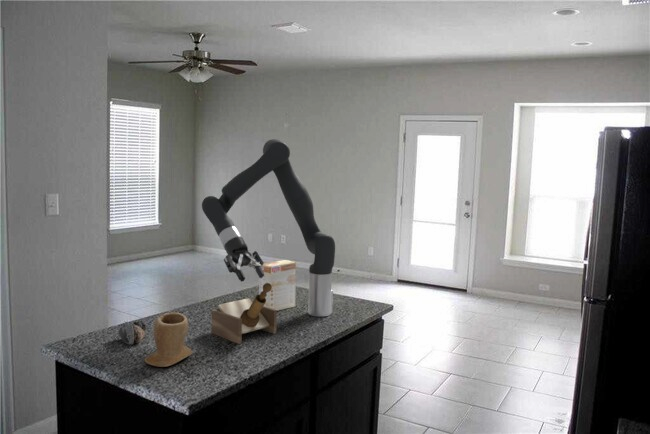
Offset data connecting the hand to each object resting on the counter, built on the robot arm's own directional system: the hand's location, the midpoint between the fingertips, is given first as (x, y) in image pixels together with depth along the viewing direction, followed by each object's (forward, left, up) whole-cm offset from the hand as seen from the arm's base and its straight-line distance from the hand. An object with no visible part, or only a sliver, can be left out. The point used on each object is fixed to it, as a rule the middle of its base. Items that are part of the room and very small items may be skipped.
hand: (253, 278), depth 194 cm
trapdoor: (0, -8, -19) cm, 21 cm away
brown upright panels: (0, -5, -21) cm, 21 cm away
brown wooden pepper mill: (0, -2, -16) cm, 16 cm away
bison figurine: (+32, -23, -21) cm, 45 cm away
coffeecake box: (-32, -21, -21) cm, 44 cm away
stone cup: (+34, +2, -21) cm, 40 cm away
